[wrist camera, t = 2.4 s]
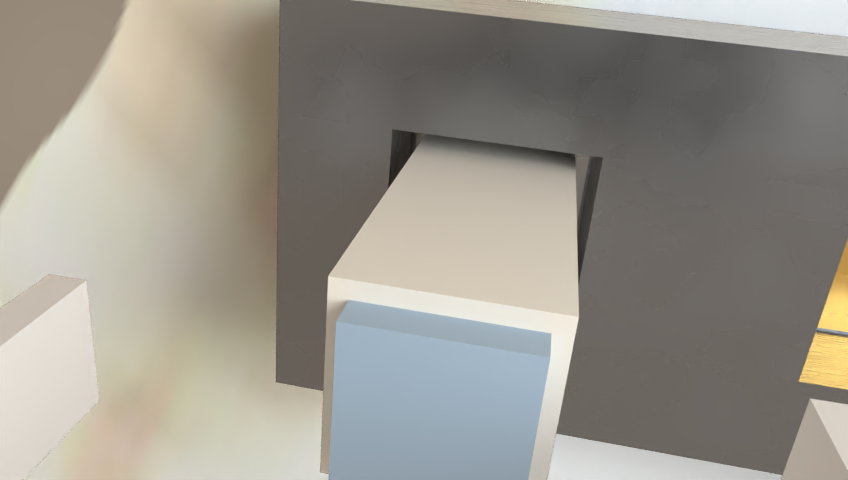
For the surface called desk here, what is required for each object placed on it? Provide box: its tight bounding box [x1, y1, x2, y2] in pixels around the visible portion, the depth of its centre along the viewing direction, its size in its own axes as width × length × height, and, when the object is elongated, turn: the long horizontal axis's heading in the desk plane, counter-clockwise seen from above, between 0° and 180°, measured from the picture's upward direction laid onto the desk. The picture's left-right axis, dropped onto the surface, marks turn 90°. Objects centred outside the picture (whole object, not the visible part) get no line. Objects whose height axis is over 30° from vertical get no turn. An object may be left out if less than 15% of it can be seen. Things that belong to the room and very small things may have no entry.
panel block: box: [276, 0, 848, 475], centre depth 22 cm, size 24×12×4 cm, turn 85°
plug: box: [320, 134, 579, 480], centre depth 19 cm, size 4×4×12 cm
